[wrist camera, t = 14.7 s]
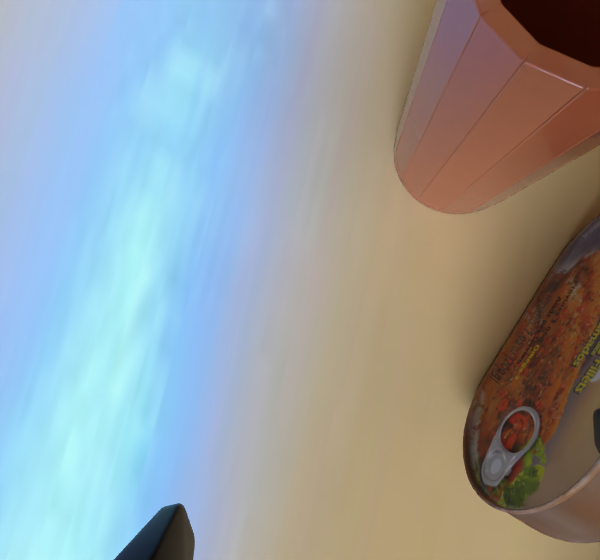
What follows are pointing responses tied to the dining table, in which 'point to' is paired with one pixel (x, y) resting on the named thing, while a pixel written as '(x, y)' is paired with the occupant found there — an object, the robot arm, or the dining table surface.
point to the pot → (499, 100)
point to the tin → (545, 405)
